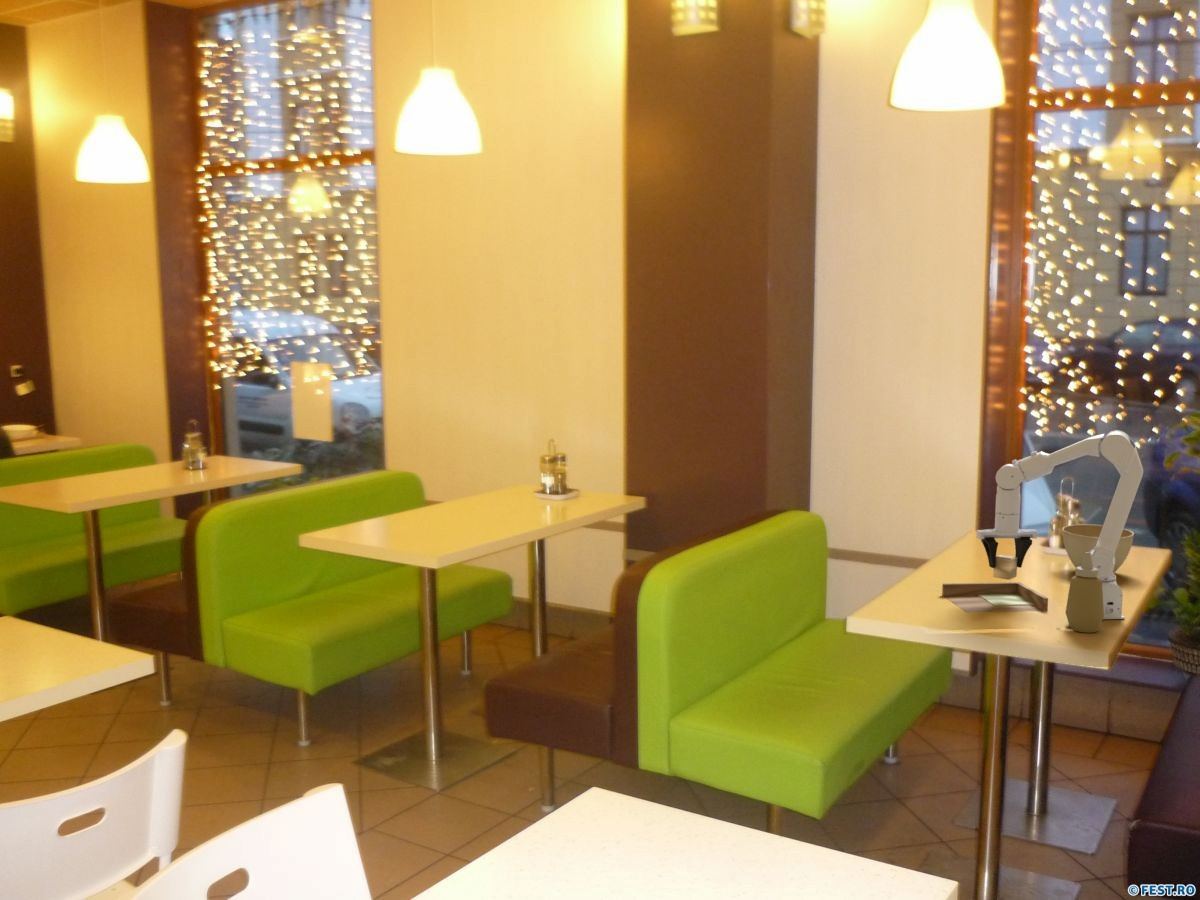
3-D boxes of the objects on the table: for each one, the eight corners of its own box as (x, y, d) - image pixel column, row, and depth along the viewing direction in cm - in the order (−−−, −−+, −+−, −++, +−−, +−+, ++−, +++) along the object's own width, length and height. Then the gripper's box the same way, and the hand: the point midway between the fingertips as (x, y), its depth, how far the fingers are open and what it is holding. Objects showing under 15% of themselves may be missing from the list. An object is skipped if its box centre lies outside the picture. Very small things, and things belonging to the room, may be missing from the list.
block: (1016, 576, 281) (1017, 556, 280) (1008, 579, 278) (1010, 559, 277) (1000, 574, 284) (1001, 554, 283) (993, 577, 280) (994, 556, 280)
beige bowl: (1046, 569, 318) (1048, 527, 317) (1096, 564, 324) (1099, 522, 323) (1094, 583, 301) (1096, 539, 300) (1146, 578, 307) (1149, 534, 306)
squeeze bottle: (1064, 623, 264) (1068, 547, 261) (1102, 627, 261) (1106, 550, 258) (1064, 632, 256) (1068, 554, 254) (1103, 636, 253) (1107, 557, 251)
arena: (1047, 613, 272) (1048, 598, 272) (966, 615, 271) (966, 599, 270) (1018, 596, 288) (1019, 582, 288) (942, 598, 287) (942, 583, 286)
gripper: (1029, 509, 283) (1026, 562, 285) (972, 510, 282) (970, 563, 284) (1041, 514, 276) (1039, 569, 278) (983, 515, 275) (981, 570, 277)
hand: (1005, 566), depth 280 cm, fingers closed on block, 6 cm apart
